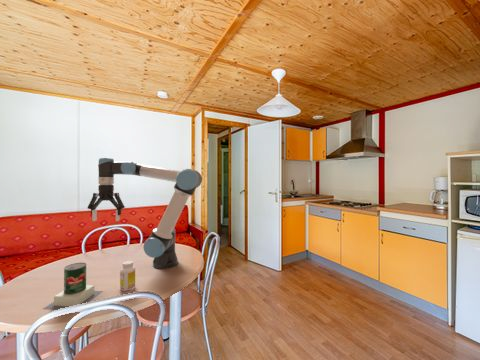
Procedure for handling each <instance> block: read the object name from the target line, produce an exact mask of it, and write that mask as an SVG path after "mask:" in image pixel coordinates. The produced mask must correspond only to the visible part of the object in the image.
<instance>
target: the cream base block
mask: <svg viewBox="0 0 480 360" xmlns="http://www.w3.org/2000/svg"><path fill="white" fill-rule="evenodd" d="M94 291H95V285H93V284H86V289H85V290H84V291H82V292H80V293H77V294H74V295H65V294H64V290H62V291H60V292H59V293H57V294H56V295H54V296H53V302H54V306H73V305H77V304H81V303H82V302H84V301H85V300H86V299H88V298H89V297H91V296H92V295H93V294H94Z"/></svg>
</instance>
